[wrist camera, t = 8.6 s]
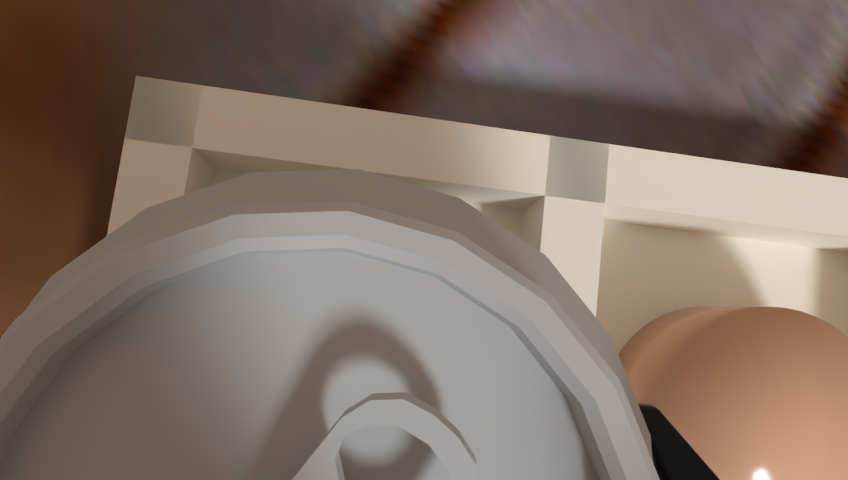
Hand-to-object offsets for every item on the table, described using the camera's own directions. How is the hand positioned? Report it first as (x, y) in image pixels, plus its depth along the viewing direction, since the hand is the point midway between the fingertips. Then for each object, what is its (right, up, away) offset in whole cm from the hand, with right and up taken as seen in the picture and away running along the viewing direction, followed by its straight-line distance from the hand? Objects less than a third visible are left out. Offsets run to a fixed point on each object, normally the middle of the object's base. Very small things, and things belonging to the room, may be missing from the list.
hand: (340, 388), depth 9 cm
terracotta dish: (+10, -3, +8) cm, 13 cm away
